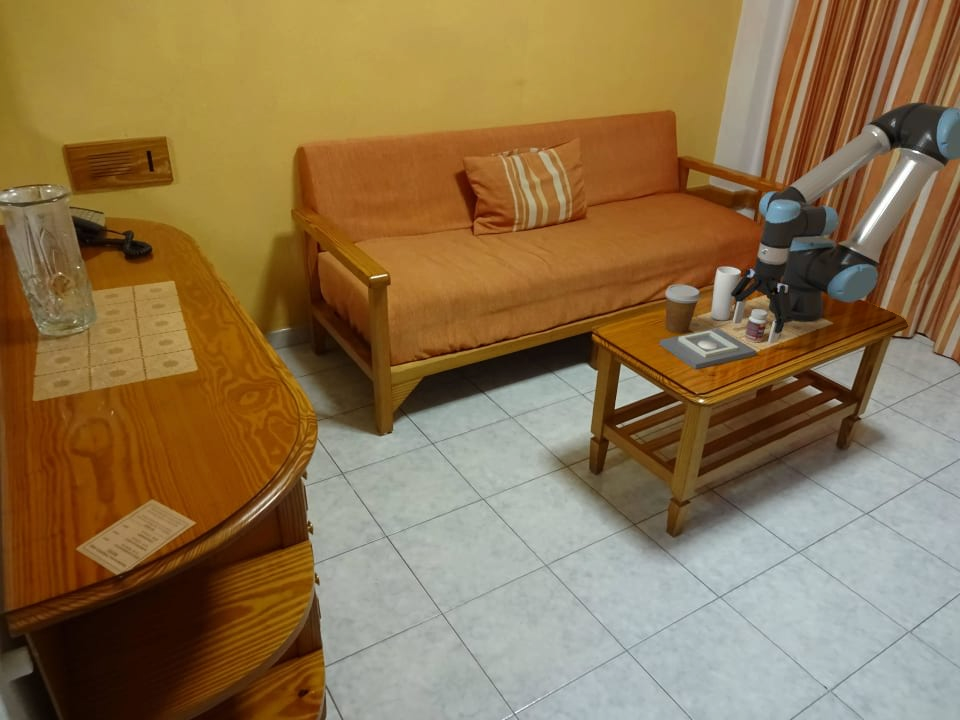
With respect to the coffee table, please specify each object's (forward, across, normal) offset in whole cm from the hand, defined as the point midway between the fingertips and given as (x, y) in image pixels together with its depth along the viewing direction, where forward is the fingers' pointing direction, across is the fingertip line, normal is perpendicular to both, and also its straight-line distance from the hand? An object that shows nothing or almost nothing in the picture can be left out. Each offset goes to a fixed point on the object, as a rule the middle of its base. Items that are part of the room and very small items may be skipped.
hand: (754, 332), depth 190 cm
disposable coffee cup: (+3, -14, -16) cm, 21 cm away
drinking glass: (+2, -15, +1) cm, 15 cm away
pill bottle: (+2, 0, 0) cm, 2 cm away
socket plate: (+2, 0, -17) cm, 17 cm away
